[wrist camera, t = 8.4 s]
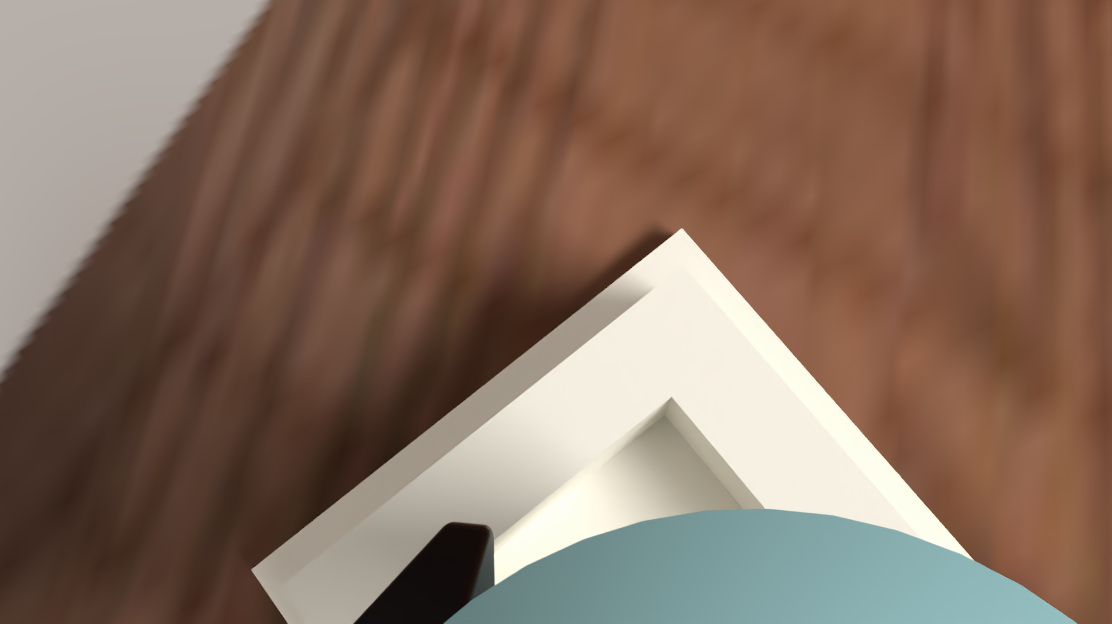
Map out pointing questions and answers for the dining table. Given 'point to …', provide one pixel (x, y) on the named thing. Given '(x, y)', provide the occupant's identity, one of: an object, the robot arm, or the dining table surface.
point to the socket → (605, 444)
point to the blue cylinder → (756, 577)
